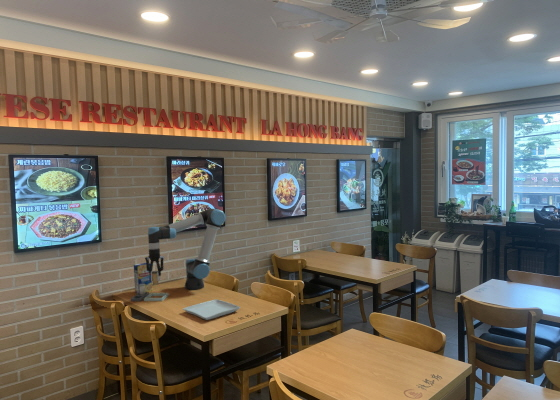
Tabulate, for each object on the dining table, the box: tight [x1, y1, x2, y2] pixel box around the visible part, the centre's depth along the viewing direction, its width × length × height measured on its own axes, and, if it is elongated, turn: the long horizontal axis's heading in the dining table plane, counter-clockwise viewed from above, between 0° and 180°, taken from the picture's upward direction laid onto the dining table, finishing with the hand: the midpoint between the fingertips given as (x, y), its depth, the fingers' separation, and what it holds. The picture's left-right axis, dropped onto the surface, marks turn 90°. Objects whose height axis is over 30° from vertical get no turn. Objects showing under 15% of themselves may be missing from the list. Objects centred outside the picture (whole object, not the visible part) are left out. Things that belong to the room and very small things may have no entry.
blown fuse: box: [152, 270, 159, 286], centre depth 293 cm, size 4×4×9 cm
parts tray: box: [143, 292, 169, 302], centre depth 294 cm, size 13×13×2 cm
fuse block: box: [130, 292, 150, 302], centre depth 296 cm, size 7×16×3 cm, turn 176°
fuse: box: [139, 283, 145, 295], centre depth 300 cm, size 4×4×9 cm
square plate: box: [182, 298, 241, 321], centre depth 262 cm, size 27×27×4 cm
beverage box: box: [133, 262, 153, 295], centre depth 312 cm, size 7×11×22 cm, turn 134°
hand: (155, 280), depth 293 cm, fingers closed on blown fuse, 4 cm apart
